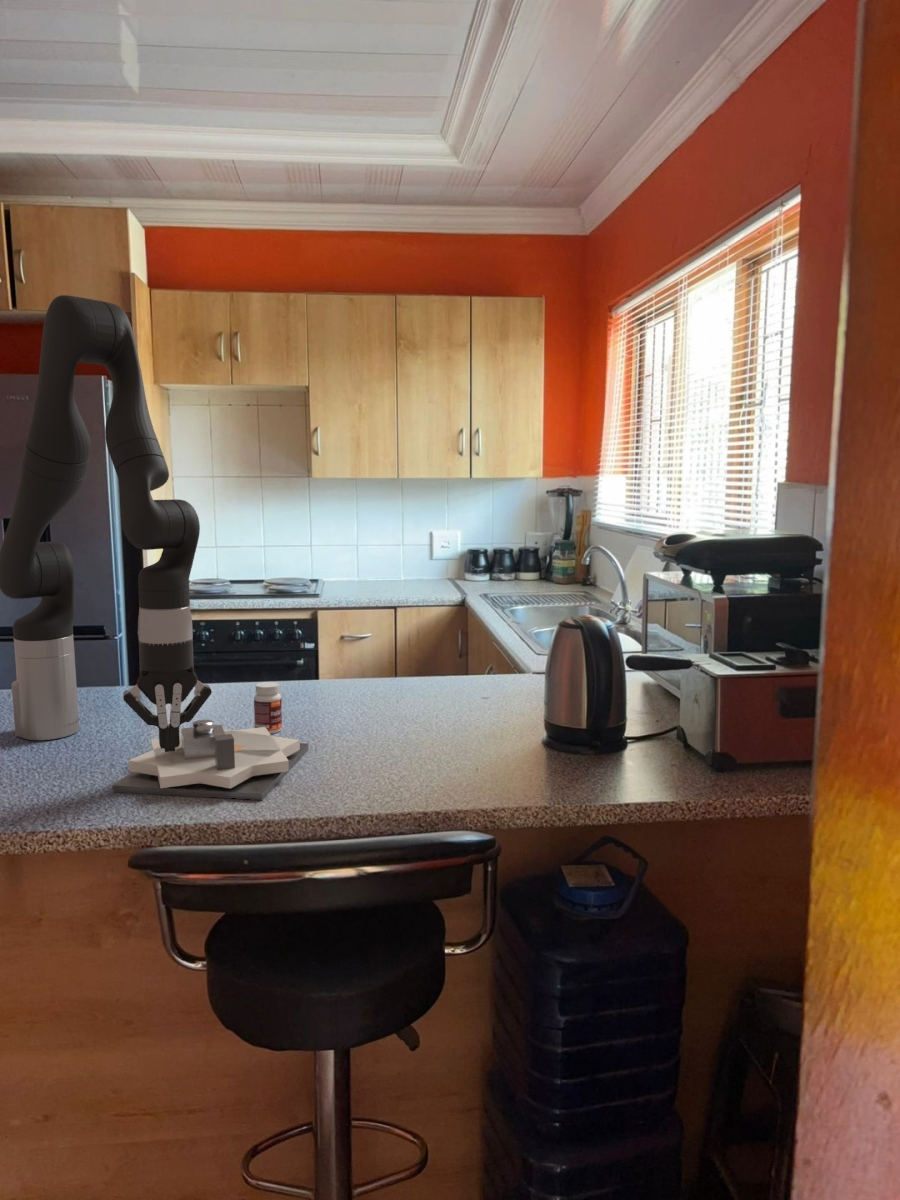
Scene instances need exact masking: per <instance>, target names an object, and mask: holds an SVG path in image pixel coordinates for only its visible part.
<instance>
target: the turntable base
mask: <svg viewBox="0 0 900 1200" xmlns="http://www.w3.org/2000/svg"><path fill="white" fill-rule="evenodd" d="M307 752H309V743H302V742H300V750H298V751H296V752H295V753H293V754H291V755H289V756H288V757H286V758H287V759H288V761H289V771H286V772H279V773H271V774H264V775H256V776H252V777H250V778H248V779H247V780H245V781H243V782H241V783H239V784H238V785H236V786H234V787H232V788H225V787H219V786H213V785H208V784H202V783H197V784H189V785H182V786H175V787H167V788H160V784H159V780H158V776H156V775H150V774H144V773H138V772H132V771H130V773H128V774H127V775H126V776H124V777H123V778H121V779H120V780H118V781H117V782H116V783H114V784H112V791H113V793H121V794H122V793H125V794H137V795H138V794H139V795H143V794H144V795H156V794H157V795H158V796H173V795H174V796H175V795H176V797H177V796H178V797H190V796H191V797H192V798H208V797H217V798H216V799H225V798H236V799H235V800H243V799H253V800H252V801H261V800H262V801H264V799H265V798H266V797H267V796H268V795H269V794H270V792H272V791H273V789H275V787H276V786H277V785H278V784H279V783H280V782H281V781H282V779H283V778H284V777H285V776H286V775H287V774H288V773H289V772H290V770H291V769H293V767H294V766H295V765H296V764H297V763H298V761H300V759H301V758H302V757H303V756H304V755H305V754H306V753H307ZM278 782H279V783H278ZM277 783H278V784H277ZM276 784H277V785H276ZM275 785H276V786H275ZM268 793H269V794H268ZM267 794H268V795H267ZM157 795H156V796H157ZM266 795H267V796H266ZM265 796H266V797H265ZM264 797H265V798H264Z"/></svg>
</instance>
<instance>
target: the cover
mask: <svg viewBox="0 0 900 1200" xmlns="http://www.w3.org/2000/svg"><path fill="white" fill-rule="evenodd" d="M223 729H224V727H223V725H222V724H214V721H213V720H212V719H198V720H196V721H193V722H192V727H183V728H180V730H181V736H182V749H183V754H184V758H185V760H187V759H195V758H204V757H213V756H215V741H214V736H217V735H225V732H224V730H223Z"/></svg>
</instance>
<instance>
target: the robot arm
mask: <svg viewBox="0 0 900 1200" xmlns="http://www.w3.org/2000/svg"><path fill="white" fill-rule="evenodd" d="M44 318H45V319H44V323H43V326H42V327H43V329H42V337H41V338H42V339H41V346H40V348H41V349H40V357H39V358H40V359H39V365H38V366H39V369H38V378H37V387H36V394H35V399H34V405H33V410H32V415H31V420H30V425H29V429H28V432H27V436H26V437H27V438H26V441H25V447H24V451H23V457H22V460H21V461H22V462H21V469H20V475H19V482H18V486H17V491H16V494H15V501H14V504H13V508H12V513H11V515H10V519H9V522H8V525H7V528H6V532H5V535H4V537H3V540H2V544H1V547H0V590H1V593H2V594H3V595H5V596H6V597H8V598H9V599H17V600H18V599H19V600H24V599H33V598H41V600H40V602H39V604H38V605H37V606H36V607H35V608H34V609H33V610H31V611H30V612H28V613H27V614H25V615H23V616H21V617H20V618H19V617H18V619H16V620H15V621H14V622H13V625H12V635H13V646H14V659H15V673H16V676H15V677H16V680H14V681H12V682H11V694H12V695H11V696H12V709H13V710H12V711H13V722H14V735H15V737H20V738H23V739H25V740H29V741H49V740H50V741H51V740H55V739H61V738H65V737H68V736H72V735H74V734H76V733H78V731H79V730H80V723H79V722H80V721H79V720H80V718H79V706H78V705H79V704H78V689H77V688H78V687H77V672H76V657H75V656H76V655H75V644H74V622H75V618H76V617H75V615H76V600H75V598H76V597H75V596H76V595H75V593H76V592H75V590H76V589H75V587H76V585H75V584H76V583H75V581H76V580H75V575H76V574H75V573H76V572H75V564H74V563H75V562H74V560H73V556H72V554H71V551H70V550H69V548H68V547H67V545H66V544H65V543H62V542H59V541H41V539H42V536H43V534H44V532H45V531H46V529H47V527H48V526H49V525H50V523H51V522H53V520H54V519H55V518H56V517H57V516H58V515H59V514H60V513H61V511H62V510H64V509H65V507H66V506H67V505H68V504H69V503H71V501H72V500H73V499H74V498H75V497H76V496H77V494H78V493H79V491H80V490H81V488H82V487H83V485H84V482H85V479H86V475H87V473H88V472H87V471H88V467H89V463H90V458H91V455H92V454H91V453H92V442H91V437H90V434H89V432H88V429H87V426H86V424H85V421H84V419H83V418H82V416H81V413H80V411H79V408H78V405H77V402H76V399H75V396H74V395H75V394H74V384H75V383H74V382H75V374H76V370H77V368H78V364H80V363H81V364H88V365H89V364H92V365H98V366H104V367H105V368H106V370H107V372H108V375H109V376H110V379H111V382H112V387H113V394H112V400H111V405H110V407H109V410H108V414H107V417H106V422H105V427H104V428H105V429H104V435H105V444H106V448H107V451H108V454H109V456H110V459H111V462H112V464H113V468H114V471H115V473H116V476H117V478H118V485H119V497H120V498H119V499H120V516H121V517H120V518H121V528H122V532H123V534H124V536H125V537H126V539H127V541H128V542H129V543H130V544H131V545H133V547H136V548H137V549H138V550H143V551H150V550H162V552H161V554H160V558H159V559H158V561H156V562H155V563H152V564H150V565H148V566H145V567H143V568H142V569H141V570H140V571H139V574H138V578H137V580H138V582H137V583H138V585H137V586H138V587H137V588H138V604H139V605H138V606H139V609H138V610H139V611H138V617H137V618H138V619H137V635H138V651H139V652H138V656H139V657H138V658H139V675H138V677H137V678H136V684H135V685H134V686H133V687H132V688H130V689H127V690H125V691H123V694H122V697H123V698H122V699H123V702H125V703H126V704H127V706H129V708H130V709H131V710H132V711H133V712H135V714H136V715H137V716H138V717H140V718H141V720H142V721H143V722H144V723H145V724H146V725H147V726H153V727H154V726H155V727H157V728H158V739H159V744H160V747H161V749H163V748H164V750H165V752H171V751H175V747H179V744H180V738H179V736H180V727H181V725H182V724H185V723H190V722H191V721H192V720H193V719H194V717H195V716H196V714H197V713H198V712H199V711H200V709H201V708H202V707H203V705H204V704H205V703H206V701H207V700H208V699H209V698H210V696H211V695H212V689H211V686H210V685H208V684H204V683H203V682H201V681H200V680H199V679H198V676H197V673H196V672H195V668H194V667H195V666H194V641H193V632H194V630H193V617H192V613H191V600H190V599H191V597H190V596H191V595H190V593H191V592H190V576H191V572H192V567H193V563H194V560H195V554H196V552H197V551H196V550H197V546H198V544H199V543H198V542H199V538H200V532H201V529H200V528H201V526H200V525H201V524H200V518H199V516H198V513H197V511H196V510H195V507H194V506H193V505H192V504H191V503H190V502H188V501H186V500H185V499H176V498H175V499H153V497H152V494H151V492H152V491H154V490H157V489H159V488H161V487H163V486H164V485H165V484H166V483H168V481H169V478H170V473H169V467H168V465H167V462H166V459H165V457H164V453H163V451H162V448H161V446H160V442H159V441H158V440H159V439H158V437H157V434H156V433H155V432H156V431H155V429H154V426H153V423H152V420H151V417H150V411H149V408H148V403H147V402H148V401H147V397H146V391H145V385H144V380H143V374H142V369H141V364H140V360H139V359H140V358H139V353H138V348H137V343H136V340H135V334H134V331H133V328H132V324H131V322H130V319H129V317H128V315H127V313H126V312H125V311H124V310H123V308H122V307H120V306H119V305H117V304H115V303H112V302H109V301H108V302H107V301H103V300H97V299H92V298H85V297H79V296H73V295H67V294H64V295H63V294H61V295H58V296H56V297H54V298H53V300H52V301H51V302H50V304H49V306H48V308H47V310H46V314H45V317H44ZM193 688H194V690H193ZM192 691H193V695H194V697H193V698H192V699H191V701H190V702H189V703H188V705H187V706H186V707H185V709H184V710H183V711H182V712H181V707H182V703H183V702H184V701H186V699H187V697H188V696H189V695H190V693H191V692H192ZM141 692H142V693H143V695H144V696H145V697H146V698H147V699H148V700H149V702H151V704H153V705H155V706H156V712H157V715H156V714H153V713H152V712H151V711H150V710H149V709H148V707H146V705H144V703H143V702H142V694H141ZM168 704H169V705H170V708H169V709H170V713H169V715H170V716H169V722H168V716H167V715H168V714H167V706H166V705H168ZM168 723H169V724H168Z"/></svg>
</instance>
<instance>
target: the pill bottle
mask: <svg viewBox="0 0 900 1200" xmlns="http://www.w3.org/2000/svg"><path fill="white" fill-rule="evenodd" d="M279 692H280V683H278V682H276V681H265V682H264V681H262V682H258V683H256V684H255V693H256V694H255V695H254V697H253V710H254V711H253V713H254V717H253V718H254V728H260V727H266V729H267V730H268V732H269V733H270V735H272V734H277V733H280V732H281V731H282V730H283V720H282V719H283V716H282V715H283V714H282V713H283V711H282V705H283V704H282V701H283V700H282V695H281V694H280V693H279Z"/></svg>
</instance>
